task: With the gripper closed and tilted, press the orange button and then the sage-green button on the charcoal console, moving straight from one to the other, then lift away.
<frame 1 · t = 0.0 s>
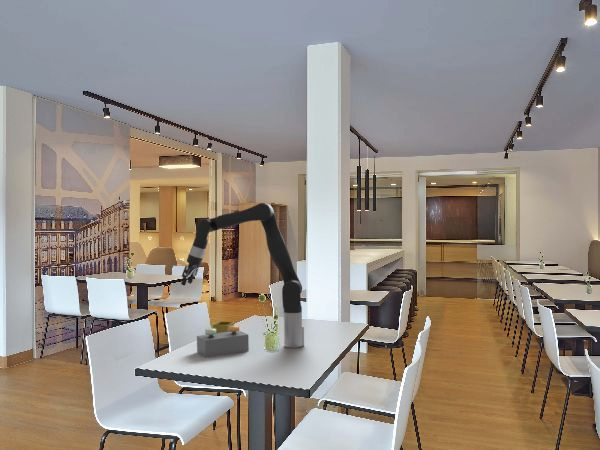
hand: (186, 284, 252), 31 cm above the table, tool tilted 20°, fingers open, 8 cm apart
flower pot: (223, 340, 260), on the table
console: (222, 351, 234), on the table
sage button: (210, 334, 231), point 9 cm above the table, slide at 0.0 cm
orange button: (234, 331, 237), point 9 cm above the table, slide at 0.0 cm
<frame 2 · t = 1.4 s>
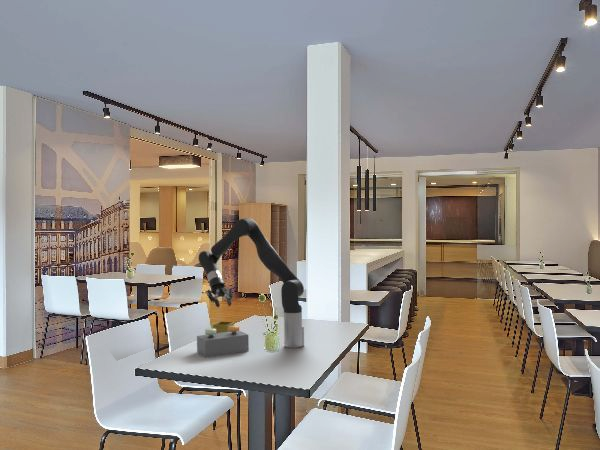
hand: (224, 305, 248), 20 cm above the table, tool tilted 45°, fingers open, 5 cm apart
nothing on the table moved.
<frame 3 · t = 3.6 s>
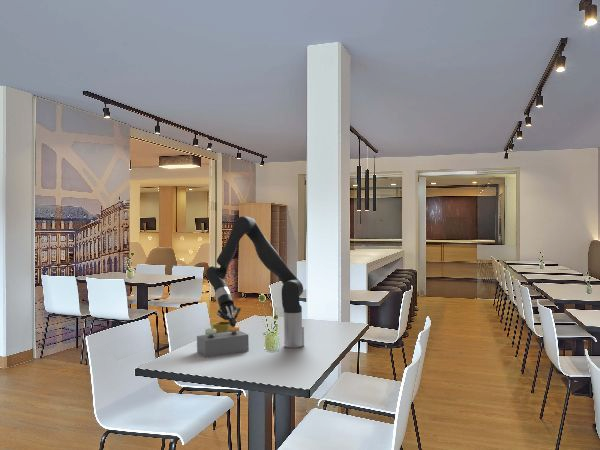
hand: (233, 325, 237), 12 cm above the table, tool tilted 45°, fingers closed
orange button: (234, 331, 237), point 9 cm above the table, slide at 0.0 cm, touching gripper
everything else where it was.
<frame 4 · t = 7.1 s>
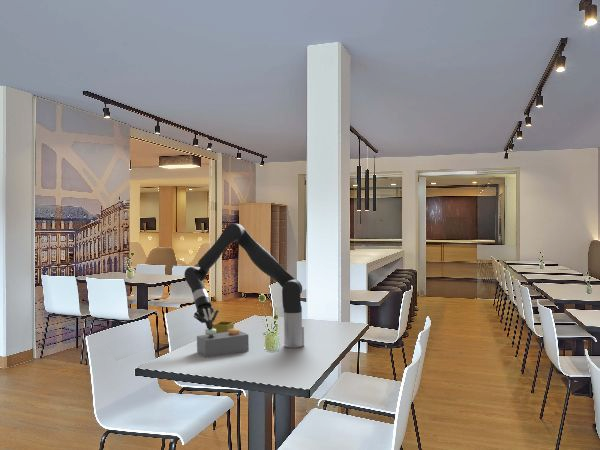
hand: (210, 328, 231), 12 cm above the table, tool tilted 45°, fingers closed
sage button: (210, 334, 231), point 9 cm above the table, slide at 0.0 cm, touching gripper
orange button: (234, 334, 237), point 8 cm above the table, slide at 1.4 cm
everything else where it was.
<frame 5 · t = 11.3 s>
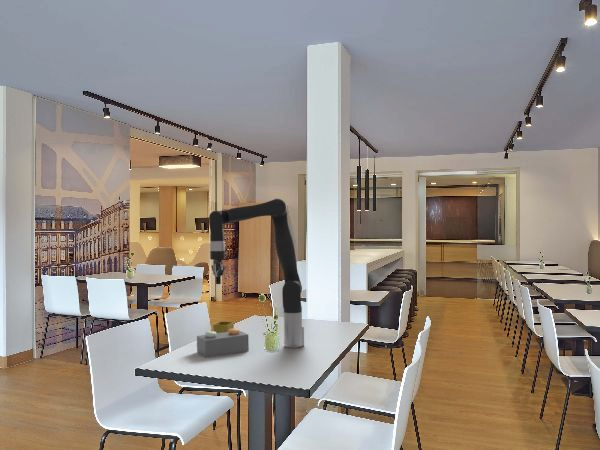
hand: (218, 284, 244), 32 cm above the table, tool pointing down, fingers closed
sage button: (210, 337, 231), point 8 cm above the table, slide at 1.4 cm
everything else where it was.
at the end: orange button slide at 1.4 cm; sage button slide at 1.4 cm; flower pot moved 0.2 cm from its start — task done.
